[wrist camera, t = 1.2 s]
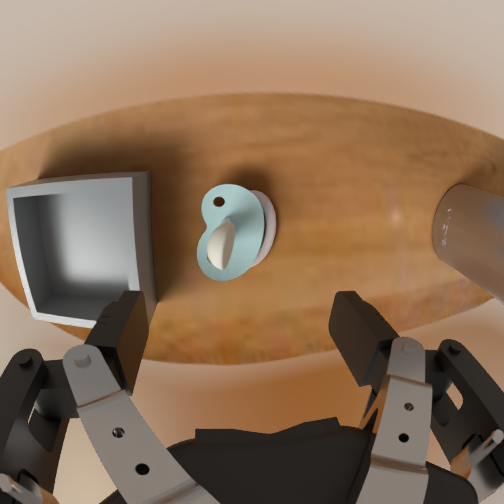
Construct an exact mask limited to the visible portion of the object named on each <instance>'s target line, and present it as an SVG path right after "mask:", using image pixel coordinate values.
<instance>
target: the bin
mask: <svg viewBox="0 0 504 504" xmlns="http://www.w3.org/2000/svg"><path fill="white" fill-rule="evenodd" d="M6 194H7V205H8V214H9V221H10V228H11V234H12V240H13V245H14V251H15V255H16V260H17V264H18V269H19V273H20V276H21V280H22V284H23V288H24V291H25V294H26V298H27V301H28V304H29V307H30V310H31V313H32V316H33V318H34V319H38V320H43V321H49V322H54V323H60V324H66V325H73V326H80V327H87V328H93V326H94V325H95V324H96V321H97V319H98V318H99V317H100V314H101V313H102V311H103V309H104V308H105V307H106V306H107V305H109V304H110V303H111V302H113V301H117V302H118V301H119V299H120V297H121V295H122V294H123V292H124V291H125V290H137V291H143V293H144V297H145V304H146V311H147V317H148V324H149V326H150V323H151V320H152V317H153V314H154V311H155V308H156V306H157V296H156V287H155V276H154V264H153V250H152V232H151V201H150V171H135V172H113V173H97V174H84V175H72V176H62V177H53V178H45V179H37V180H33V181H30V182H26V183H23V184H19V185H16V186H13V187H10V188H7V189H6Z"/></svg>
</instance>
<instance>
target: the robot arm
mask: <svg viewBox="0 0 504 504" xmlns="http://www.w3.org/2000/svg"><path fill="white" fill-rule="evenodd" d="M432 239H433V246H434V249H435V252H436V254H437V255H438V257H439V258H440V259H441V260H442V261H444V262H445V263H447V264H448V265H450V266H451V267H453V268H454V269H456V270H457V271H459V272H460V273H462V274H463V275H464V276H466V277H467V278H469V279H470V280H471V281H473V282H474V283H476V284H477V285H478V286H480V287H481V288H483V289H484V290H485V291H487V292H488V293H489V294H491V295H492V296H493V297H495V298H496V299H497V300H499V301H500V302H501V303H503V304H504V197H503V196H500V195H497V194H494V193H491V192H488V191H485V190H482V189H478V188H475V187H472V186H468V185H465V184H459V185H456V186H454V187H453V188H451V189H450V190H449V191H448V192H447V193H446V194H445V196H444V197H443V199H442V200H441V202H440V204H439V206H438V209H437V211H436V215H435V218H434V223H433V234H432ZM329 333H330V335H331V337H332V339H333V341H334V343H335V344H336V346H337V348H338V350H339V351H340V353H341V355H342V357H343V358H344V360H345V362H346V364H347V366H348V367H349V369H350V371H351V373H352V374H353V376H354V378H355V380H356V382H357V384H358V386H359V387H361V386H366V385H371V387H372V388H371V390H370V392H369V395H368V398H367V402H366V405H365V408H364V411H363V414H362V417H361V420H360V423H359V426H358V428H356V427H351V426H340V424H339V422H338V420H337V417H332V418H327V419H322V420H316V421H310V422H304V423H302V424H299V425H296V426H293V427H291V428H288V429H285V430H282V431H279V432H276V433H272V434H265V433H257V432H249V431H243V430H236V429H195V438H194V439H189V440H185V441H182V442H179V443H177V444H174V445H172V446H170V447H168V448H165V447H164V445H163V444H162V443H161V442H160V440H159V439H158V438H157V437H156V435H155V434H154V432H153V431H152V430H151V428H150V427H149V426H148V424H147V423H146V421H145V420H144V419H143V417H142V416H141V415H140V413H139V411H138V410H137V408H136V407H135V405H134V404H133V402H132V401H131V399H130V398H129V396H132V394H133V389H134V386H135V382H136V378H137V374H138V370H139V367H140V363H141V360H142V356H143V352H144V349H145V346H146V342H147V339H148V334H149V324H148V317H147V311H146V304H145V297H144V293H143V291H137V290H125V291H124V292H123V294H122V295H121V297H120V299H119V301H118V302H117V301H113V302H111V303H110V304H109V305H107V306H106V307H105V308H104V309H103V311H102V313H101V314H100V317H99V318H98V319H97V321H96V324H95V325H94V326H93V328H92V330H91V332H90V334H89V335H88V337H87V339H86V341H85V343H84V344H83V345H78V346H75V347H73V348H71V349H69V350H68V351H67V352H66V354H65V355H64V357H63V359H61V360H50V361H44V360H43V358H42V355H41V353H40V352H39V351H37V350H35V349H24V350H21V351H19V352H17V353H16V354H15V355H14V356H13V357H12V359H11V360H10V362H9V364H8V365H7V367H6V369H5V370H4V372H3V374H2V376H1V377H0V504H59V502H58V501H57V499H56V498H55V497H54V496H53V490H54V484H55V477H56V473H57V468H58V463H59V459H60V454H61V450H62V446H63V442H64V438H65V434H66V430H67V427H68V423H69V420H70V418H81V421H82V424H83V425H84V428H85V430H86V432H87V435H88V437H89V439H90V441H91V443H92V445H93V447H94V449H95V451H96V453H97V455H98V456H99V458H100V460H101V462H102V464H103V465H104V467H105V469H106V470H107V472H108V474H109V476H110V478H111V479H112V481H113V482H114V484H115V486H116V487H117V490H116V491H115V492H113V493H112V494H111V495H110V496H108V497H107V498H106V499H104V500H103V501H102V502H101V503H99V504H479V503H480V502H481V501H483V500H484V499H485V498H487V497H488V496H490V495H491V494H493V493H494V492H496V491H497V490H498V489H500V488H501V487H502V486H504V393H503V391H502V390H501V389H500V387H499V386H498V385H497V384H496V382H495V381H494V380H493V379H492V377H491V376H490V375H489V374H488V373H487V372H486V370H485V369H484V368H483V367H482V366H481V365H480V363H479V362H478V361H477V360H476V359H475V358H474V357H473V356H472V354H471V353H470V352H469V351H468V350H467V349H466V348H465V347H464V346H463V345H462V344H461V343H459V342H457V341H455V340H451V339H446V340H443V341H442V342H441V344H440V346H439V348H438V350H425V349H424V347H423V346H422V344H421V343H419V342H418V341H417V340H415V339H412V338H409V337H400V336H399V335H398V334H397V333H396V332H395V330H394V329H393V328H392V327H391V326H390V325H389V323H388V322H387V321H386V320H385V319H384V318H383V317H382V315H380V313H379V312H378V311H377V310H376V309H375V308H374V307H373V306H372V305H370V304H369V303H367V302H365V301H363V300H362V299H361V297H360V296H359V295H358V294H357V293H356V292H355V291H338V292H337V293H336V295H335V298H334V302H333V307H332V311H331V315H330V319H329ZM452 382H453V383H454V385H455V386H456V388H457V389H458V390H459V392H460V393H461V395H462V397H463V404H462V406H461V408H460V409H459V410H458V409H457V407H456V406H455V405H454V403H453V402H452V400H451V399H450V397H449V396H448V394H447V393H446V391H447V389H448V388H449V387H450V385H451V384H452ZM33 406H34V407H35V408H34V411H33V413H32V416H31V418H30V421H29V424H28V419H29V416H30V414H31V411H32V409H33ZM430 428H431V430H432V432H433V433H434V435H435V437H436V439H437V441H438V442H439V444H440V446H441V448H442V450H443V452H444V454H445V456H446V457H447V459H448V461H449V463H450V465H451V466H450V470H451V471H448V470H446V469H443V468H441V467H439V466H436V465H434V464H432V463H430V462H427V461H426V456H427V449H428V442H429V433H430Z"/></svg>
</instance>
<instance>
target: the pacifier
mask: <svg viewBox="0 0 504 504" xmlns="http://www.w3.org/2000/svg"><path fill="white" fill-rule="evenodd" d="M216 197H222V198H224V200H225V203H224V205H222V206H219V207H218V206H216V205H214V203H213V200H214V199H215V198H216ZM263 212H264V214H263ZM202 215H203V218H204V221H205V222H206V224H207V229H206V231H205V232H204V233H203V235H202V237H201V238H200V240H199V243H198V247H197V260H198V264H199V266H200V268H201V270H202V271H203V272H204V274H205V275H207V276H208V277H209V278H211V279H213V280H217V281H229V280H232V279H235V278H236V277H239V276H240V275H242V274H244V273H245V272H246V271H247V270H248V269H249V268H250V267H253V266H255V265H257V264H258V263H259V262H260V261H262V260H263V259H264V257H265V256H266V255H267V254H268V252H269V250H270V248H271V246H272V244H273V241H274V237H275V233H276V214H275V211H274V207H273V205H272V203H271V201H270V200H269V198H268V197H267V196H266V195H264V194H263V193H262V192H259V191H256V190H247V189H246V188H244V187H242V186H239V185H235V184H222V185H218V186H216V187H214V188H212V189H211V190H209V191H208V193H207V194H206V195H205V196H204V198H203V202H202ZM264 216H265V224H266V225H265V233H264V237H263V232H264ZM262 238H263V240H262ZM207 254H208V257H209V259H210V261H209V260H208V258H207Z"/></svg>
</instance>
